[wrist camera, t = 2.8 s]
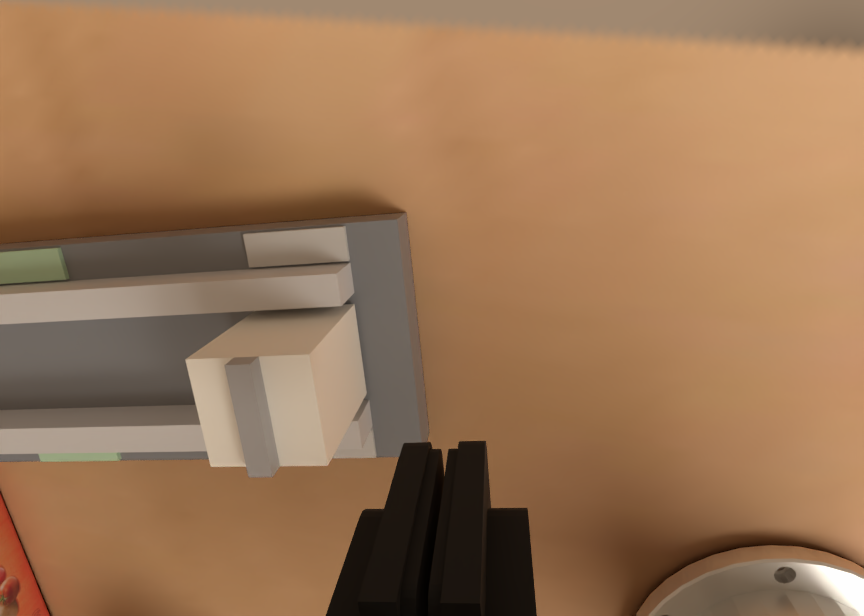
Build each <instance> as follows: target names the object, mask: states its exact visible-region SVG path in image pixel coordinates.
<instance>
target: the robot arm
mask: <svg viewBox="0 0 864 616" xmlns="http://www.w3.org/2000/svg"><path fill="white" fill-rule="evenodd" d="M326 616H537V614H536V602H535V591H534V579H533V567H532V555H531V544H530V532H529V520H528V509H527V508H491V501H490V487H489V474H488V460H487V447H486V441H460V442H459V444H458V449H449V450H448V456H447V463H446V470H445V477H444V468H443V458H442V451H441V449H432V445H431V443H430V442H417V443H404V444H403V446H402V449H401V453H400V456H399V460H398V463H397V467H396V470H395V474H394V477H393V480H392V484H391V487H390V491H389V494H388V498H387V501H386V505H385V508H384V509H365V510H364V511H362V513H361V516H360V518H359V521H358V524H357V527H356V530H355V533H354V535H353V538H352V541H351V544H350V547H349V550H348V553H347V556H346V559H345V562H344V564H343V567H342V570H341V573H340V576H339V579H338V582H337V585H336V588H335V590H334V593H333V596H332V599H331V602H330V605H329V608H328V611H327V614H326ZM636 616H864V568H862V567H861V566H859V565H857V564H856V563H854V562H852V561H849V560H847V559H844V558H841V557H839V556H836V555H833V554H831V553H828V552H824V551H819V550H814V549H809V548H804V547H799V546H779V545H765V546H755V547H745V548H738V549H734V550H730V551H726V552H722V553H718V554H714V555H711V556H709V557H707V558H704V559H702V560H699V561H697V562H695V563H692V564H690V565H688V566H686V567H685V568H683V569H681V570H680V571H678V572H677V573H675V574H674V575H672V576H670V577H669V578H667V579H666V580H665V581H664V582H663V583H662V584H661V585H660V586H658V587H657V588H656V589H655V590H654V591H653V592H652V593H651V594H650V595H649V596H648V598H647V599H646V600H645V602H644V603H643V605H642V606H641V608H640V609H639V610H638V612H637V614H636Z"/></svg>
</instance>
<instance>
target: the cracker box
mask: <svg viewBox="0 0 864 616" xmlns="http://www.w3.org/2000/svg"><path fill="white" fill-rule="evenodd" d="M0 616H50V615H49V613H48V610H47V608H46V605H45V603H44V600H43V598H42V595H41V593H40V590H39V588H38V586H37V583H36V580H35V578H34V575H33V573H32V570H31V568H30V566H29V563H28V561H27V558H26V556H25V554H24V551H23V548H22V546H21V543H20V541H19V539H18V536H17V534H16V531H15V529H14V526H13V524H12V521H11V519H10V516H9V514H8V511H7V509H6V506H5V504H4V502H3V499H2V497H1V494H0Z"/></svg>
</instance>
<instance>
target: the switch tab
mask: <svg viewBox="0 0 864 616" xmlns="http://www.w3.org/2000/svg"><path fill="white" fill-rule="evenodd" d="M185 361H186V365H187V369H188V373H189V378H190V382H191V386H192V390H193V394H194V399H195V403H196V407H197V411H198V416H199V420H200V424H201V428H202V432H203V437H204V441H205V445H206V449H207V454H208V458H209V462H210V466H211V467H246V468H247V473H248V477H273V476H274V475H275V473H276V472H277V470H278V469H279V467H280V466H328V465H329V463H330V461H331V459H332V457H333V455H334V454H335V452H336V450H337V448H338V446H339V444H340V442H341V440H342V439H343V437H344V435H345V433H346V431H347V429H348V427H349V426H350V424H351V422H352V420H353V418H354V416H355V414H356V412H357V411H358V409H359V407H360V405H361V403H362V401H363V399H364V398H365V396H366V394H367V391H366V384H365V377H364V369H363V362H362V355H361V348H360V340H359V333H358V326H357V319H356V311H355V304H345V305H342V306H336V307H317V308H299V309H280V310H261V311H254V312H253V313H251V314H250V315H248V316H247V317H245V318H244V319H243V320H241V321H240V322H238V323H237V324H235V325H234V326H232V327H231V328H230V329H228V330H227V331H225V332H224V333H222V334H221V335H220V336H218V337H217V338H215V339H214V340H212V341H211V342H210V343H208V344H207V345H205V346H204V347H202V348H201V349H199V350H198V351H197V352H195V353H194V354H192V355H191V356H189V357H188V358H187V359H185Z"/></svg>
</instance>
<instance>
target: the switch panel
mask: <svg viewBox="0 0 864 616" xmlns="http://www.w3.org/2000/svg"><path fill="white" fill-rule="evenodd" d="M345 304H355V311H356V319H357V326H358V333H359V340H360V348H361V355H362V362H363V369H364V377H365V384H366V391H367V394H366V396H365V398H364V399H363V401H362V403H361V405H360V407H359V409H358V411H357V412H356V414H355V416H354V418H353V420H352V422H351V424H350V426H349V427H348V429H347V431H346V433H345V435H344V437H343V439H342V440H341V442H340V444H339V446H338V448H337V450H336V452H335V454H334V455H333V457H332V458H376V457H399V456H400V453H401V449H402V446H403V444H404V443H417V442H427V440H428V436H429V424H428V415H427V405H426V396H425V386H424V376H423V367H422V357H421V348H420V338H419V329H418V319H417V309H416V300H415V290H414V281H413V271H412V261H411V252H410V242H409V233H408V223H407V214H406V212H404V213H391V214H378V215H365V216H353V217H340V218H327V219H314V220H301V221H288V222H276V223H263V224H250V225H237V226H224V227H212V228H199V229H186V230H173V231H160V232H147V233H135V234H122V235H109V236H96V237H83V238H71V239H58V240H45V241H32V242H19V243H6V244H0V462H22V461H41V462H64V461H119V460H193V459H209V458H208V454H207V449H206V445H205V441H204V437H203V432H202V428H201V424H200V420H199V416H198V411H197V407H196V403H195V399H194V394H193V390H192V386H191V382H190V378H189V373H188V369H187V365H186V361H185V359H187V358H188V357H189V356H191V355H192V354H194V353H195V352H197V351H198V350H199V349H201V348H202V347H204V346H205V345H207V344H208V343H210V342H211V341H212V340H214V339H215V338H217V337H218V336H220V335H221V334H222V333H224V332H225V331H227V330H228V329H230V328H231V327H232V326H234V325H235V324H237V323H238V322H240V321H241V320H243V319H244V318H245V317H247V316H248V315H250V314H251V313H253V312H254V311H261V310H280V309H299V308H317V307H336V306H342V305H345Z"/></svg>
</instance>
